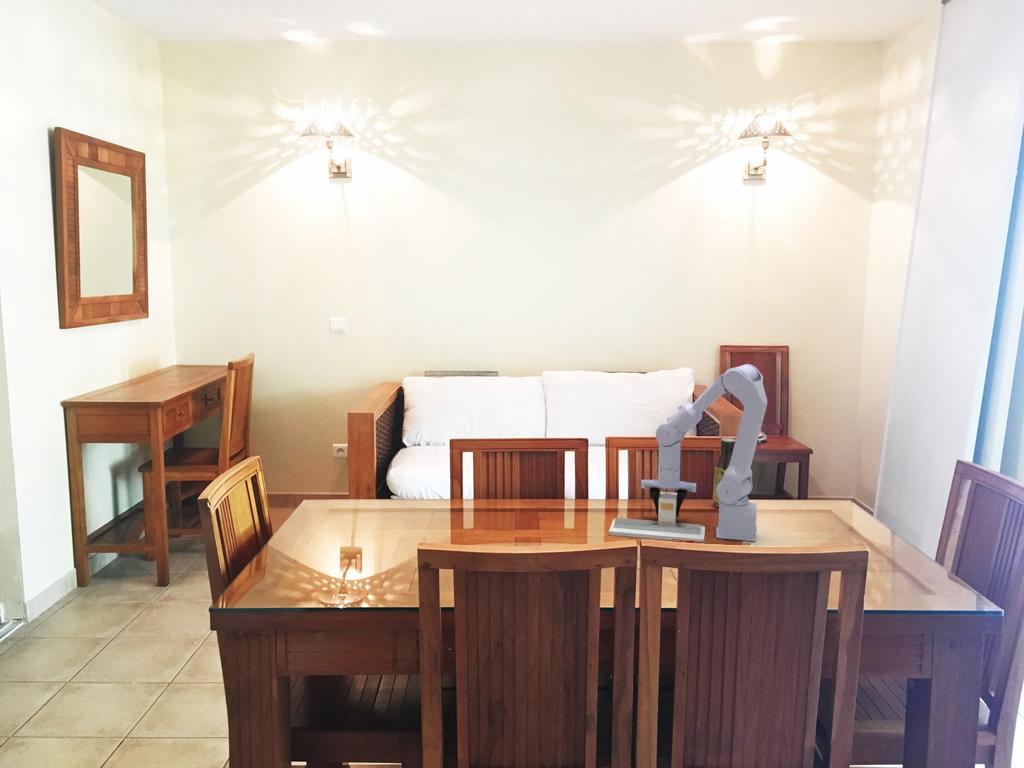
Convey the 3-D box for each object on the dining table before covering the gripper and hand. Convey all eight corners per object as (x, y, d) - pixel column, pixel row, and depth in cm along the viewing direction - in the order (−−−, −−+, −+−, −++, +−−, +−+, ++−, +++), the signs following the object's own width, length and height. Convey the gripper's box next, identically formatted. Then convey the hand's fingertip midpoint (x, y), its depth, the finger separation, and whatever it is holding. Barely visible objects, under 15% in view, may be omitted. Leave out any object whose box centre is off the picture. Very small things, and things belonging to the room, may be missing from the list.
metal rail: (700, 530, 206) (700, 524, 206) (700, 534, 203) (700, 529, 203) (615, 523, 212) (616, 517, 211) (614, 527, 208) (614, 521, 208)
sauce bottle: (708, 504, 231) (710, 437, 227) (725, 501, 233) (728, 435, 230) (722, 511, 225) (725, 442, 222) (740, 508, 227) (743, 440, 224)
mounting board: (704, 530, 209) (704, 526, 209) (703, 543, 200) (704, 539, 199) (613, 522, 215) (613, 518, 215) (608, 534, 206) (608, 531, 205)
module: (676, 517, 219) (677, 493, 218) (675, 526, 212) (675, 500, 211) (660, 516, 220) (660, 491, 219) (658, 524, 213) (658, 499, 212)
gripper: (697, 464, 216) (695, 512, 218) (643, 461, 220) (642, 508, 222) (696, 471, 209) (694, 520, 211) (640, 467, 213) (639, 516, 215)
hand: (667, 515), depth 216 cm, fingers closed on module, 4 cm apart
